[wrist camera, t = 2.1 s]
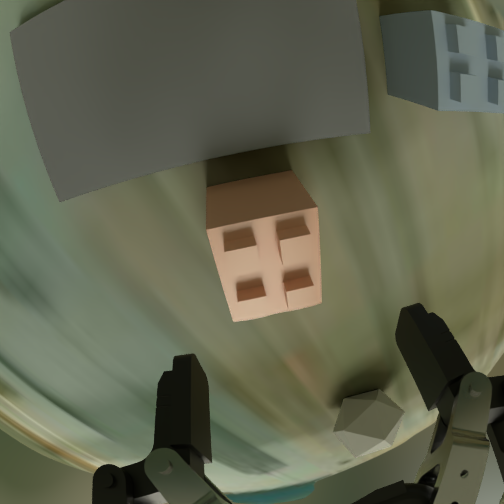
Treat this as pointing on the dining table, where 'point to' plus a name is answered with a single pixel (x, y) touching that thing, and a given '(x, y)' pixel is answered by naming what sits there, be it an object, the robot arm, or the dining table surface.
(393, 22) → the brick slate
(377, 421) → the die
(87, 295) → the dining table surface
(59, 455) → the dining table surface
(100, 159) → the baseplate
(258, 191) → the brick terracotta
